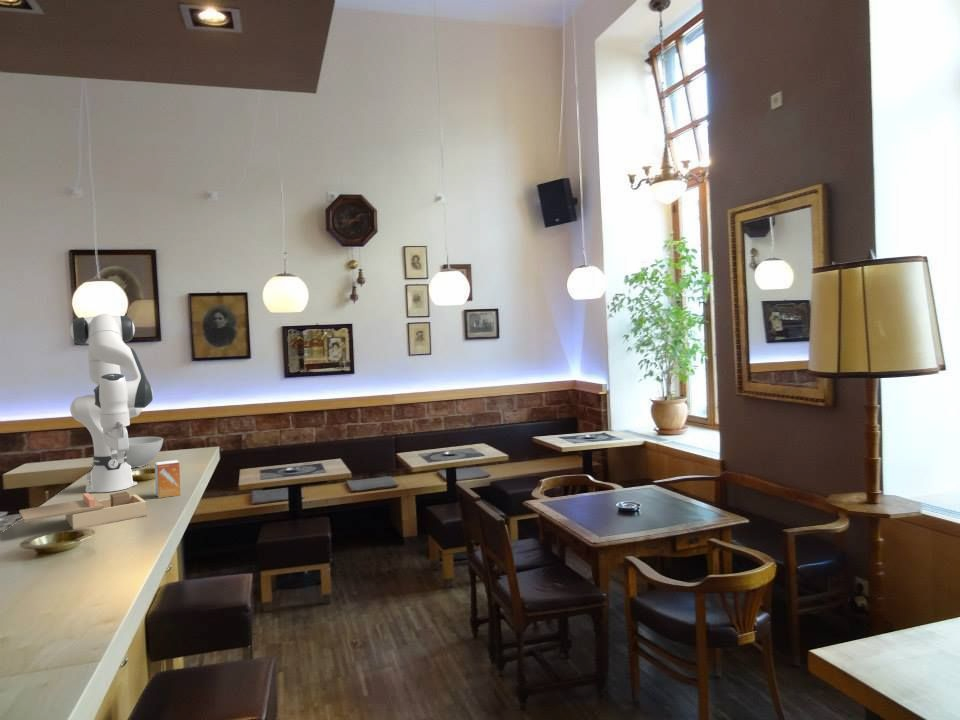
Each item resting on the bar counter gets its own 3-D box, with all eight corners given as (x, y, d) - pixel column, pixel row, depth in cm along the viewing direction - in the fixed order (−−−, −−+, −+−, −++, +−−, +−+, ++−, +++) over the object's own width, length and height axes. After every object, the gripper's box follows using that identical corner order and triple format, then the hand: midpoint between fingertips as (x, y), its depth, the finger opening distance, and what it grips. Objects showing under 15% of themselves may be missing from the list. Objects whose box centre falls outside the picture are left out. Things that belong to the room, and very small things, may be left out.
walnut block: (111, 514, 235) (110, 494, 235) (127, 511, 238) (126, 491, 238) (114, 516, 231) (113, 496, 231) (130, 514, 234) (129, 494, 234)
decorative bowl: (106, 464, 331) (105, 439, 330) (166, 458, 340) (165, 434, 340) (97, 474, 306) (95, 448, 305) (162, 468, 315) (160, 442, 315)
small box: (158, 498, 258) (156, 464, 257) (156, 495, 263) (154, 462, 262) (181, 495, 262) (179, 461, 261) (178, 492, 267) (176, 459, 267)
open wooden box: (65, 520, 231) (65, 505, 231) (136, 507, 245) (135, 494, 244) (73, 529, 219) (72, 514, 219) (146, 515, 233) (146, 501, 233)
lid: (19, 512, 222) (18, 502, 222) (95, 500, 236) (94, 490, 236) (24, 521, 211) (23, 511, 211) (103, 508, 225) (103, 498, 225)
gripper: (132, 423, 227) (135, 463, 228) (119, 417, 243) (121, 455, 244) (111, 425, 223) (114, 466, 224) (99, 419, 239) (101, 457, 240)
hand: (117, 460), depth 234 cm, fingers open, 8 cm apart
